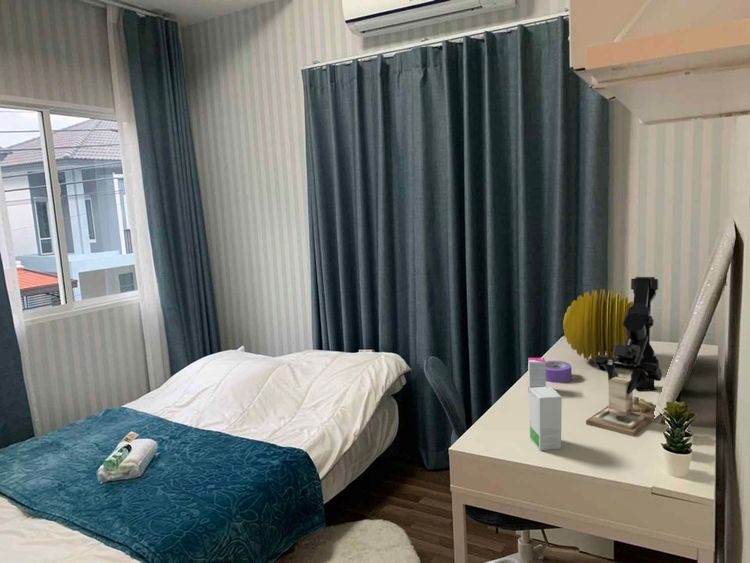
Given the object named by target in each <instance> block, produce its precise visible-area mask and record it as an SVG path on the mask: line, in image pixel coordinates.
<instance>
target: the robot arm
mask: <svg viewBox="0 0 750 563" xmlns="http://www.w3.org/2000/svg"><path fill="white" fill-rule="evenodd" d="M659 287H660V286H659V279H658V278H655V276H635V277H634V278H631V279H630V290H632V291H633V293H632V294H634V295H633V300H632V301H633V306H631V307H630V308H629V309H628V313H627V315H625V318H624V321H623V325H624V327H625V332H626V336H627V339H626V342H625V344H624V345H623V344H622V345H616V344H614V348H613V353H612V355H613V356H614V355H616V358H615V360H616V361H614V360H613V361H612V360H611V359H610V357H609V356H607V355H605V356H603V355H599V354H598V355H597V356H596V357H595V359H594V361H593V363H594V364H595V366H596V367H597V369H598V370H600V371H601V372H602V371H603V372H607V377H608V378H607V379H608V384H609V380H610V379H612V378H613V377H615V376H619V374H618V372H617V370H624V371H629V372H632V373H631V374H630V379H631V381H630V383H629V386H628V389H627V394H630V393H631V392H632V391H633V392H634V390H635V391H636V390H637V391H638V392H639V391H641V392H642V391H643V392H644V391H656V390H657V387H655V381H658V382H661V380H662V377H663V372H662V370H661V369H660V365H659V364H660V363H659V360H658V358H657V355H655V354H656V353H655V350H654V349H653V346H651V328H652V327H653V326H654V324H655V321H654V318H653V316H652V312H651V311H652V310H651V309H652V302H653V301H654V299H655V298H656V296H657V291H659ZM617 360H618V361H617Z"/></svg>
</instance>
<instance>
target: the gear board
mask: <svg viewBox="0 0 750 563" xmlns="http://www.w3.org/2000/svg"><path fill="white" fill-rule="evenodd" d="M656 405H657V404H654V402H651V401H646V400H645V399H644V398H640V397H638V396H633V409H634V413H633V414H632V415H629V416H618V415H614V414H611V413H610V412H609V411H608V406H609V405H607V406H606V407H604V408H602V409H601V410H600V411H598V412H596V413H595V414H593V415H592V416H590V417H589V418H587V419H586V420H585V424H586V425H588V426H592V427H597V428H601V429H605V430H608V431H611V432H614V433H615V432H616V433H619V434H623V435H626V436H631V437H634V436H635V435H637V434H638V433H639V432H641V431H642V430H643V429H644V428H646V427H647V426H648V425H649V424H650V423H652V422H654V420H655V419H654V417H655V415H654V411H655V408H656ZM653 419H654V420H653Z"/></svg>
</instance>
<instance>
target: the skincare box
mask: <svg viewBox="0 0 750 563" xmlns="http://www.w3.org/2000/svg"><path fill="white" fill-rule="evenodd" d="M529 389H530V393H529V440H530V441H531V442H532V443H533V444H534V445H535V446H536V448H537V449H538V450H539V451H540V452H543V451H551V450H560V449H562V404H563V403H562V401H563V400H562V398H563V397H562V396H561V395H560V394H559V393H558V392H557V390H555V389H553V388H552V387H551V385H549V386H547V385H546V387H536V388H529ZM529 389H528V390H529Z"/></svg>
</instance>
